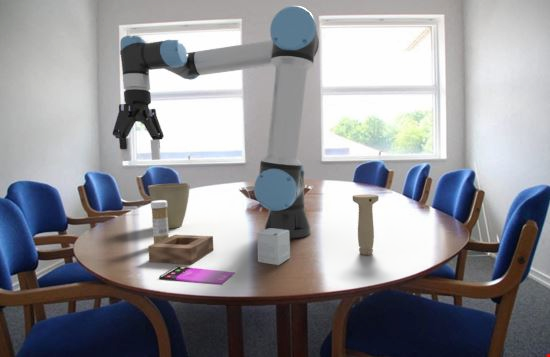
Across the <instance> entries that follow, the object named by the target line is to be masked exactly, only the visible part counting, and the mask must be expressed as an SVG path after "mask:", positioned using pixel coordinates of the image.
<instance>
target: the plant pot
mask: <svg viewBox="0 0 550 357" xmlns="http://www.w3.org/2000/svg"><path fill="white" fill-rule="evenodd" d="M147 187H148V193H149V197H150V200H151V202H152V201H157V200H166V201H167V218H168V230H169V229H177V228H181V227H182V226H183V223H184V221H185V216H186V213H187V208H188V204H189V197H190V187H191V186H190V182H189V183H188V182H187V183H185V182H182V183H181V182H179V183H178V182H176V183H175V182H174V183H173V182H172V183H161V184H151V185H148V186H147Z"/></svg>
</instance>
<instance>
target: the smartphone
mask: <svg viewBox="0 0 550 357" xmlns="http://www.w3.org/2000/svg"><path fill="white" fill-rule="evenodd" d="M233 275H235V271H226V270H216V269H206V268H196V267H186V266H178V265H177V266H174V267H173V268H170V269H169V270H167V271H166V272H164V273H162V274H160V275H159V279H160V280H166V281H175V282H184V283H185V282H186V283H194V284H195V283H196V284H208V285H217V286H221V285H223V284H224V283H225V282H226V281H228V280H229V279H230V278H231V277H233Z"/></svg>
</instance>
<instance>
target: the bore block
mask: <svg viewBox="0 0 550 357" xmlns="http://www.w3.org/2000/svg"><path fill="white" fill-rule="evenodd" d="M213 251H214V236H213V235H196V234H195V235H194V234H193V235H191V234H173V235H171V236H169V237H168V238H166V239H164V240H161V241H159V242H157V243H155V244H154V243H152V244H149V245H148V262H149V263H165V264H175V263H176V264H175V265H177V264H178V265H189V266H190V265H193V264H195V263H196V262H198V261H200V260H201V259H203V258H204V257H206V256H207V255H208V254H209V255H210V253H212V252H213Z"/></svg>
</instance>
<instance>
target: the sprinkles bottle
mask: <svg viewBox="0 0 550 357" xmlns="http://www.w3.org/2000/svg"><path fill="white" fill-rule="evenodd" d="M150 207H151V215H152V216H151V217H152V218H151V219H152V220H151V221H152V235H153V244H155V243H157V242H159V241H161V240H164V239H166V238H168V237H170V236H169V229H168V218H167V201H166V200H157V201H151V202H150Z"/></svg>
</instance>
